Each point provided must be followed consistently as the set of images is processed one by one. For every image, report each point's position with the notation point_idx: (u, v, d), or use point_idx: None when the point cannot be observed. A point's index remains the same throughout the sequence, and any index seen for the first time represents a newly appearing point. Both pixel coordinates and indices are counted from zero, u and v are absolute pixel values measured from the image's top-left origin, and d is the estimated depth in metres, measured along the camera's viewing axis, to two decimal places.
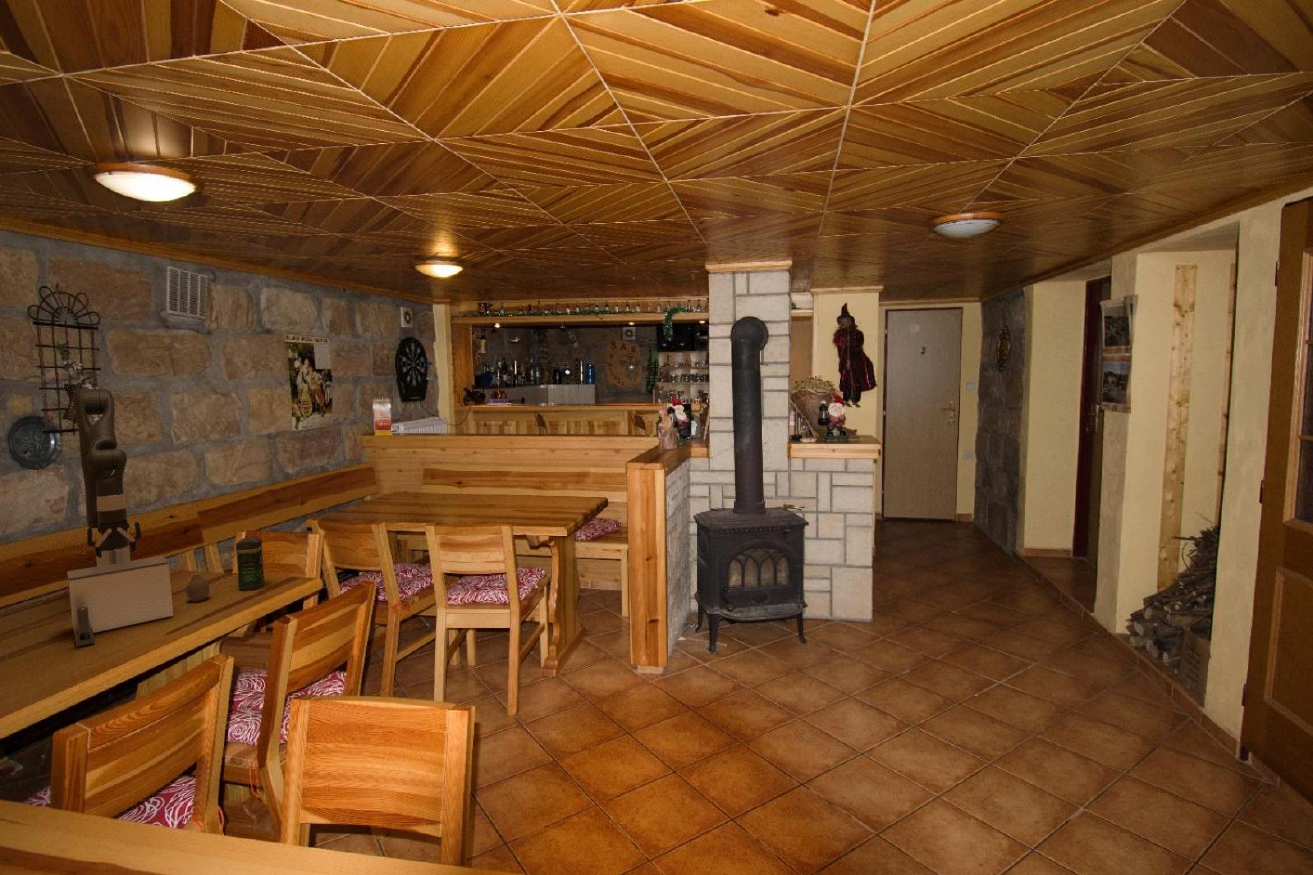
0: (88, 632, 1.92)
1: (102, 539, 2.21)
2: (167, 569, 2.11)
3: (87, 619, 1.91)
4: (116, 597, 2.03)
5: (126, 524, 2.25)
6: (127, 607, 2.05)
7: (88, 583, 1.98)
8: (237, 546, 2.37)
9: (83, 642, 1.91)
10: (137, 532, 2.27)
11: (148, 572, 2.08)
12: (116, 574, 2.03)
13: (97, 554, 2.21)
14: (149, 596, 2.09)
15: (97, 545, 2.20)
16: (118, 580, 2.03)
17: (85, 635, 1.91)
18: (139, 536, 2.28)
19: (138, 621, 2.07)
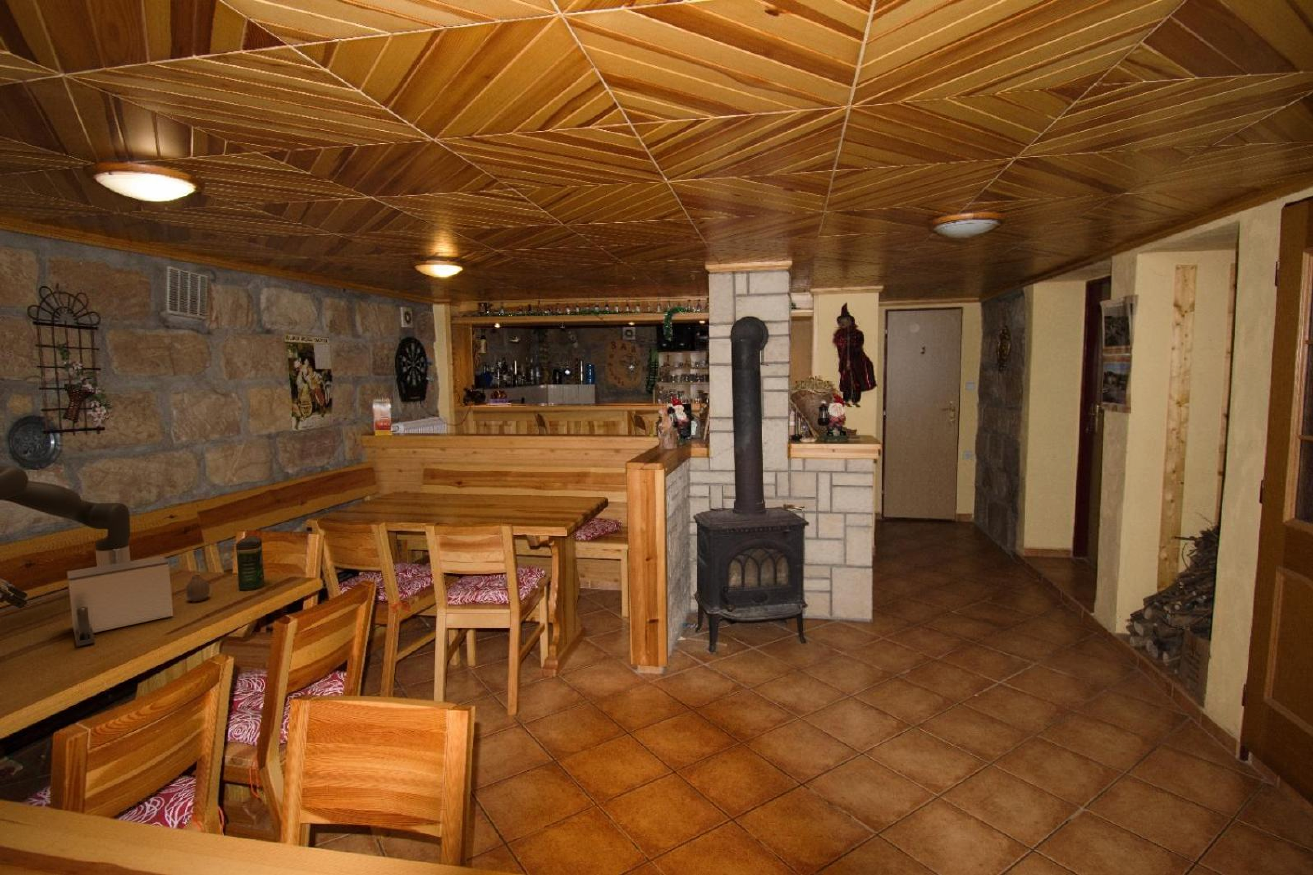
0: (88, 632, 1.92)
1: None
2: (167, 569, 2.11)
3: (87, 619, 1.91)
4: (116, 597, 2.03)
5: None
6: (127, 607, 2.05)
7: (88, 583, 1.98)
8: (237, 546, 2.37)
9: (83, 642, 1.91)
10: None
11: (148, 572, 2.08)
12: (116, 574, 2.03)
13: (17, 596, 1.85)
14: (149, 596, 2.09)
15: None
16: (118, 580, 2.03)
17: (85, 635, 1.91)
18: None
19: (138, 621, 2.07)
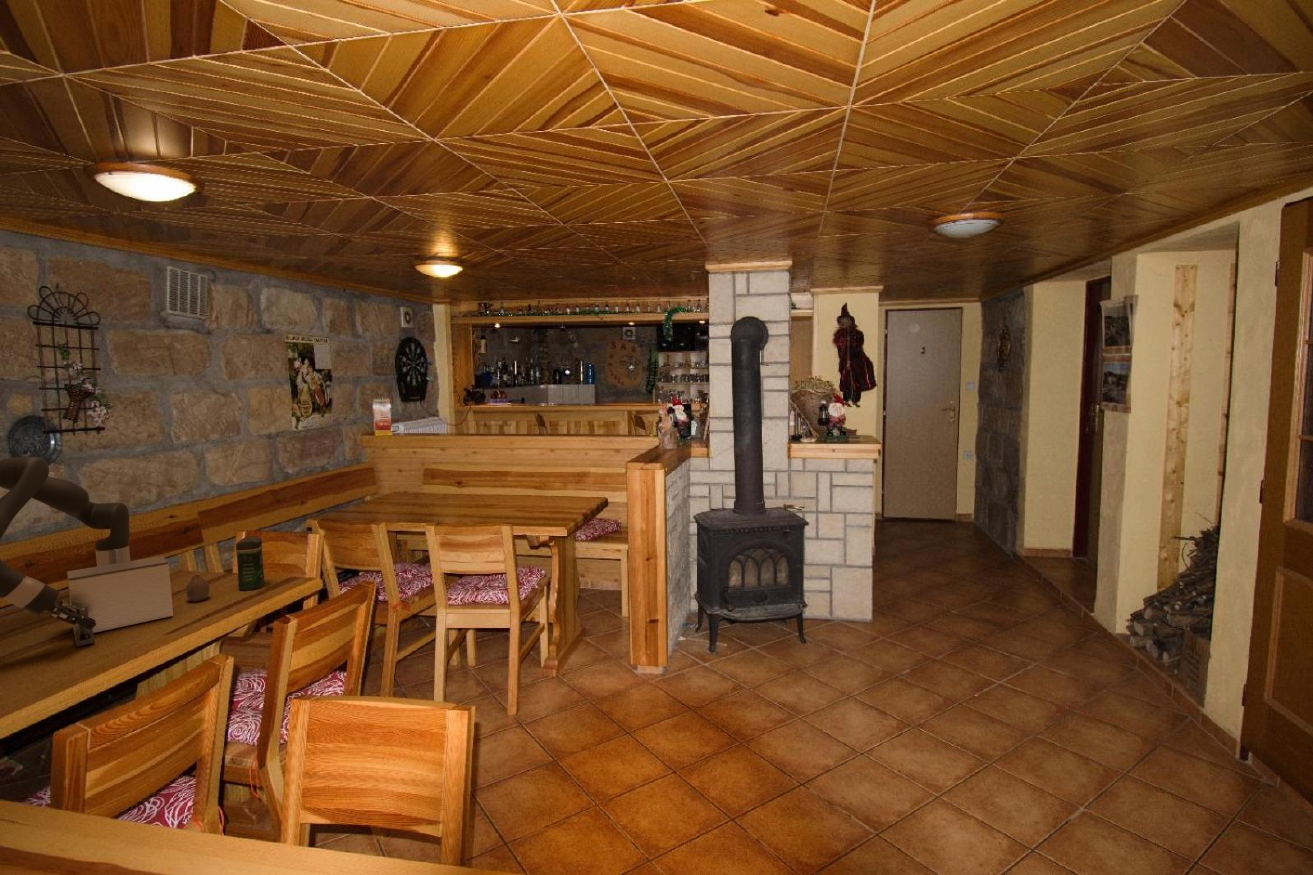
0: (88, 632, 1.92)
1: None
2: (167, 568, 2.11)
3: None
4: (116, 597, 2.03)
5: (52, 613, 1.84)
6: (127, 607, 2.05)
7: (88, 583, 1.98)
8: (237, 546, 2.37)
9: (83, 642, 1.91)
10: None
11: (148, 572, 2.08)
12: (116, 574, 2.03)
13: None
14: (149, 596, 2.09)
15: (74, 619, 1.91)
16: (118, 580, 2.03)
17: (85, 635, 1.91)
18: None
19: (138, 621, 2.07)
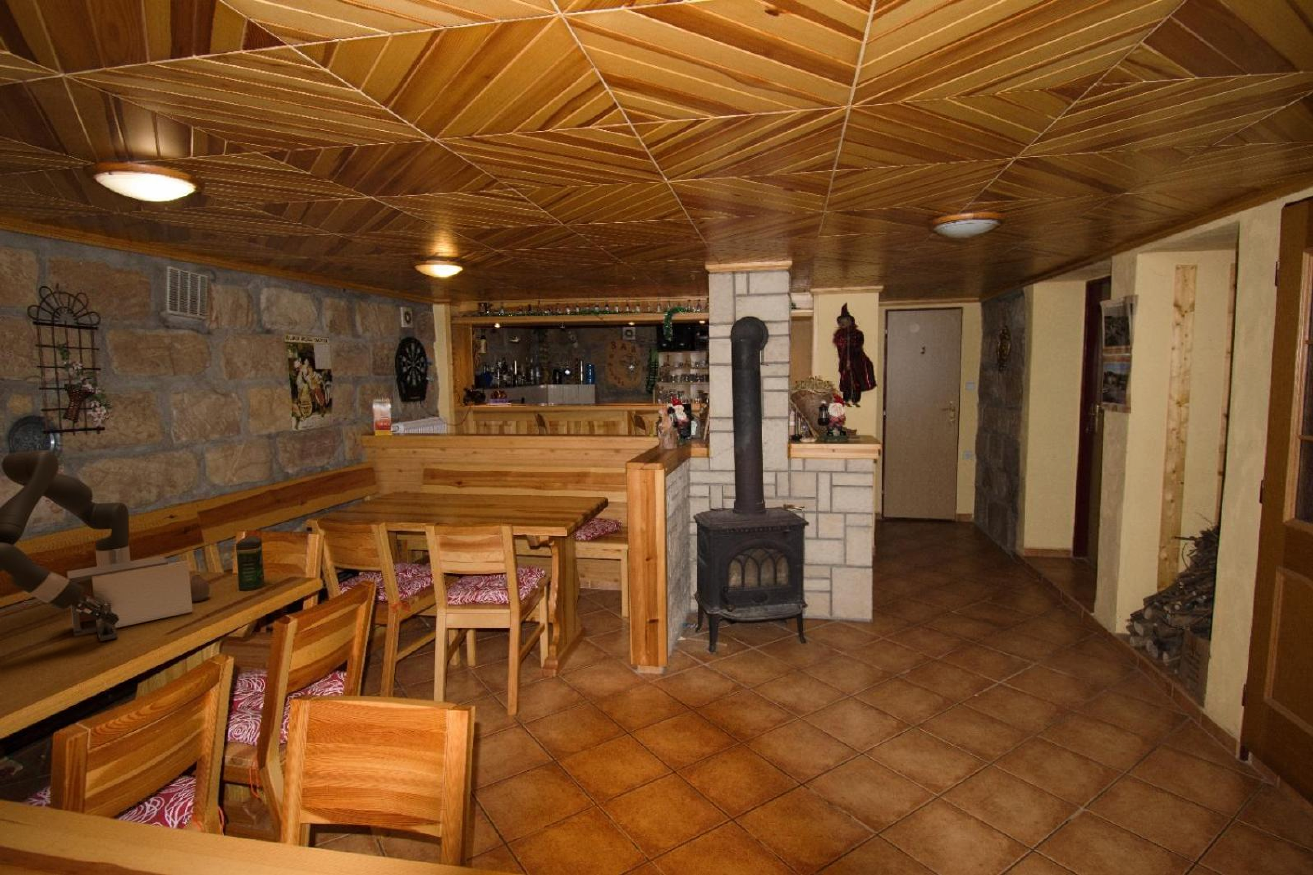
0: (111, 627, 1.95)
1: None
2: (187, 565, 2.15)
3: None
4: (137, 593, 2.06)
5: (76, 608, 1.87)
6: (148, 603, 2.08)
7: (110, 579, 2.02)
8: (237, 546, 2.37)
9: (107, 637, 1.94)
10: None
11: (168, 568, 2.12)
12: (137, 570, 2.06)
13: None
14: (169, 592, 2.12)
15: (97, 615, 1.95)
16: (139, 576, 2.07)
17: (108, 630, 1.95)
18: None
19: (158, 617, 2.11)
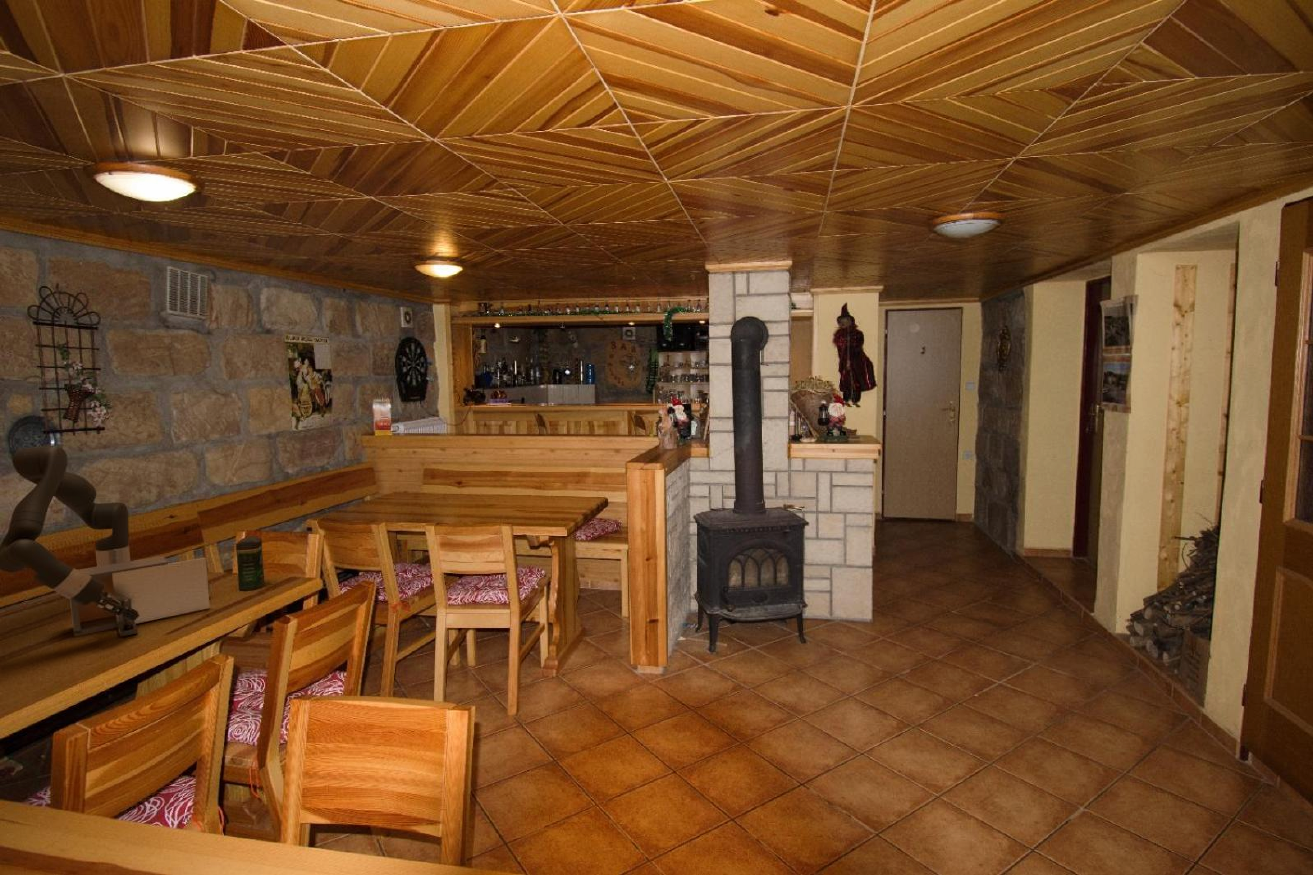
0: (131, 623, 1.99)
1: None
2: (204, 562, 2.18)
3: None
4: (156, 589, 2.10)
5: (98, 604, 1.91)
6: (166, 599, 2.12)
7: (130, 576, 2.05)
8: (237, 546, 2.37)
9: (127, 633, 1.97)
10: None
11: (186, 565, 2.15)
12: (156, 567, 2.09)
13: None
14: (187, 589, 2.15)
15: (118, 611, 1.98)
16: (158, 573, 2.10)
17: (129, 626, 1.98)
18: None
19: (177, 613, 2.14)
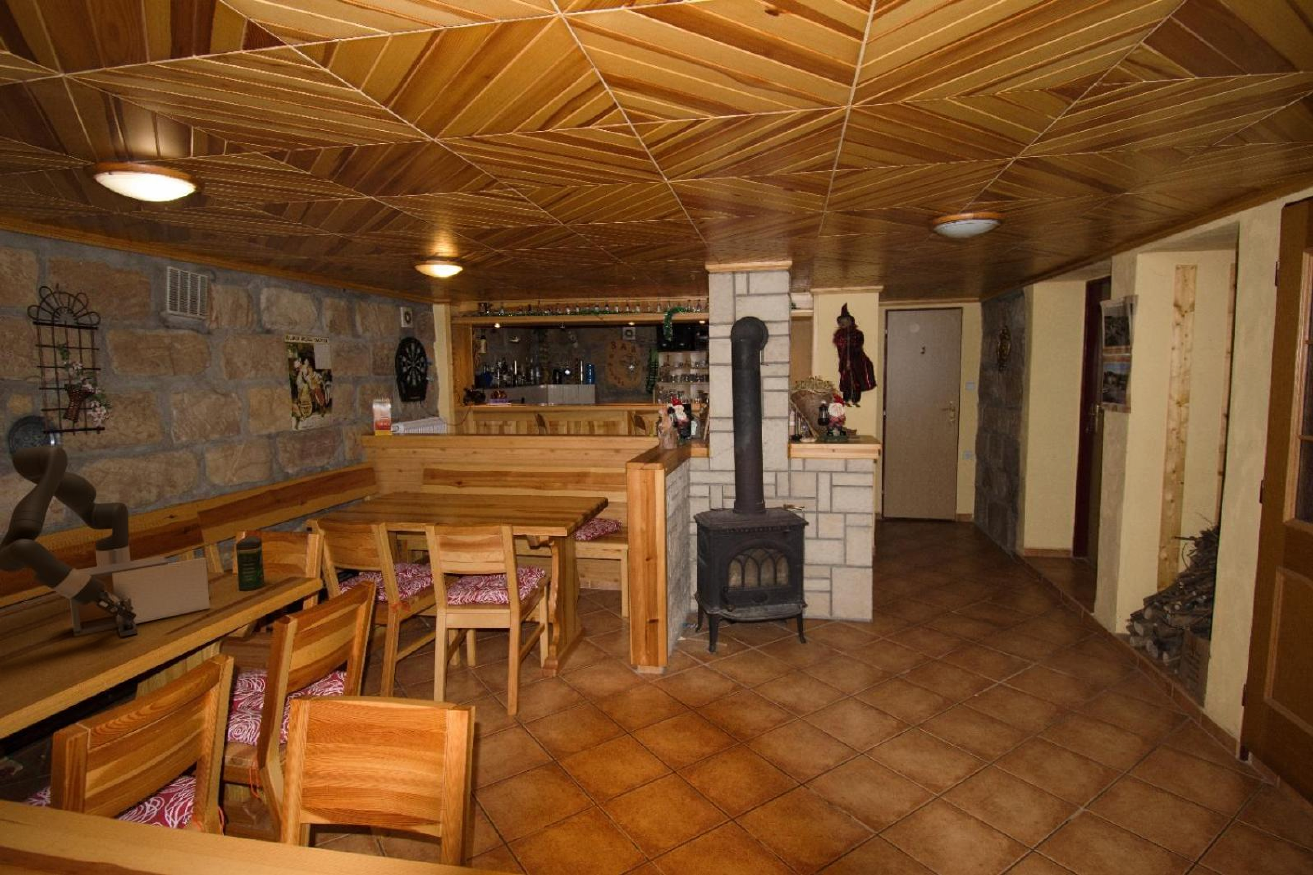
0: (131, 623, 1.99)
1: None
2: (204, 562, 2.18)
3: (130, 610, 1.98)
4: (156, 589, 2.10)
5: (97, 603, 1.91)
6: (166, 599, 2.12)
7: (130, 576, 2.05)
8: (237, 546, 2.37)
9: (127, 633, 1.97)
10: None
11: (186, 565, 2.15)
12: (156, 567, 2.09)
13: None
14: (187, 589, 2.15)
15: None
16: (158, 573, 2.10)
17: (129, 626, 1.98)
18: None
19: (177, 613, 2.14)
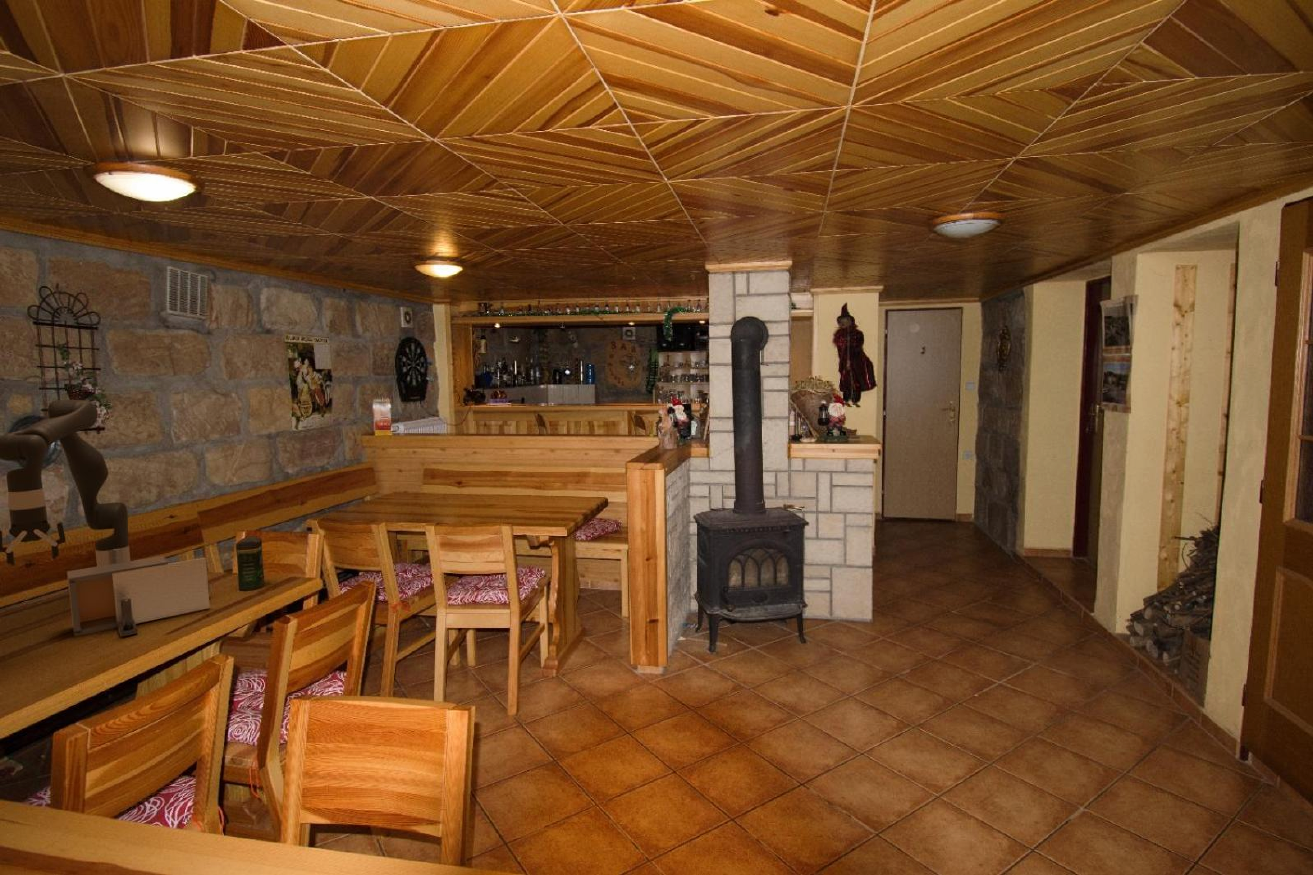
0: (131, 623, 1.99)
1: (15, 543, 1.83)
2: (204, 562, 2.18)
3: (130, 610, 1.98)
4: (156, 589, 2.10)
5: (46, 525, 1.87)
6: (166, 599, 2.12)
7: (130, 576, 2.05)
8: (237, 546, 2.37)
9: (127, 633, 1.97)
10: (60, 535, 1.89)
11: (186, 565, 2.15)
12: (156, 567, 2.09)
13: (9, 561, 1.83)
14: (187, 589, 2.15)
15: (8, 550, 1.82)
16: (158, 573, 2.10)
17: (129, 626, 1.98)
18: (62, 539, 1.90)
19: (177, 613, 2.14)
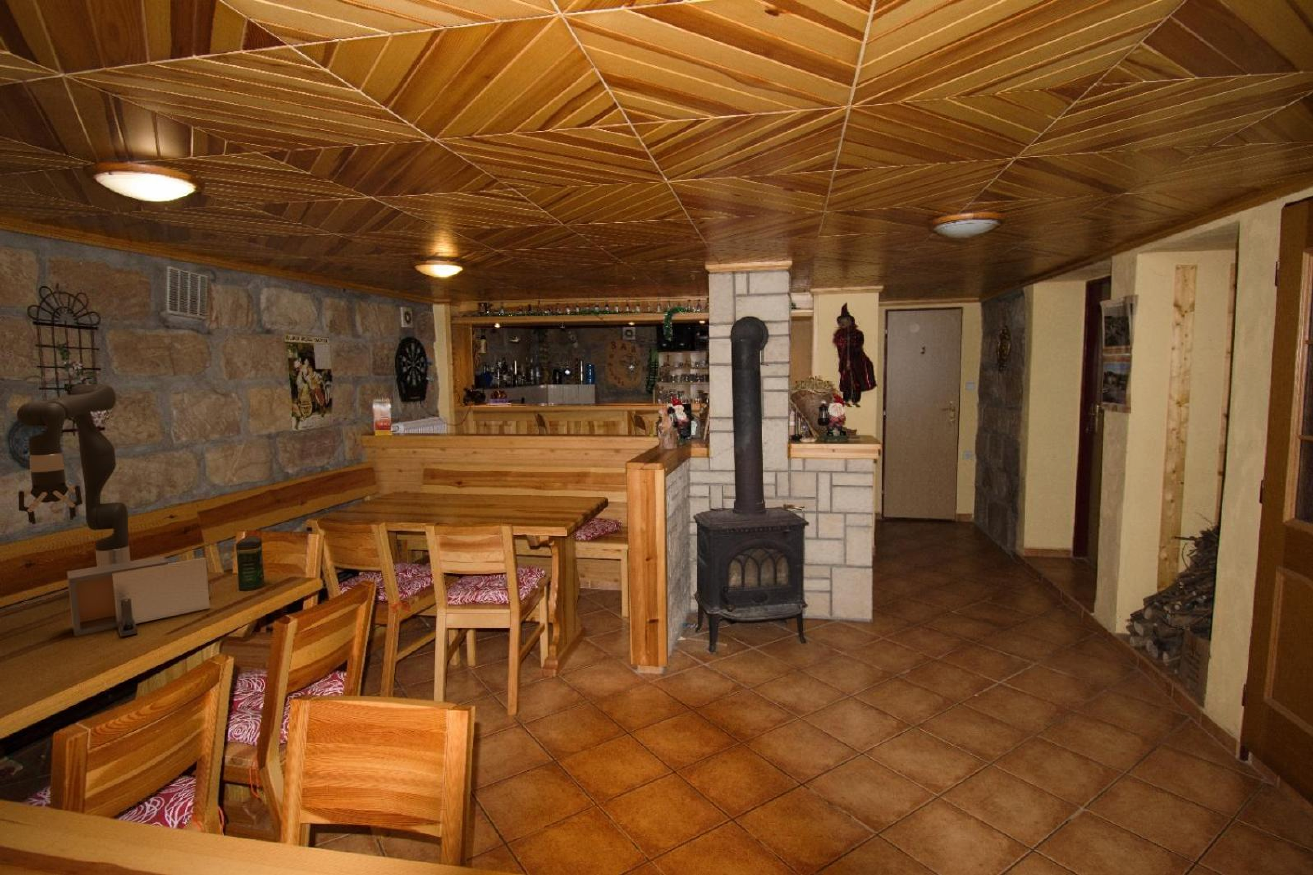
0: (131, 623, 1.99)
1: (36, 503, 1.96)
2: (204, 562, 2.18)
3: (130, 610, 1.98)
4: (156, 589, 2.10)
5: (64, 487, 2.01)
6: (166, 599, 2.12)
7: (130, 576, 2.05)
8: (237, 546, 2.37)
9: (127, 633, 1.97)
10: (77, 497, 2.03)
11: (186, 565, 2.15)
12: (156, 567, 2.09)
13: (30, 520, 1.97)
14: (187, 589, 2.15)
15: (30, 510, 1.96)
16: (158, 573, 2.10)
17: (129, 626, 1.98)
18: (79, 501, 2.04)
19: (177, 613, 2.14)
